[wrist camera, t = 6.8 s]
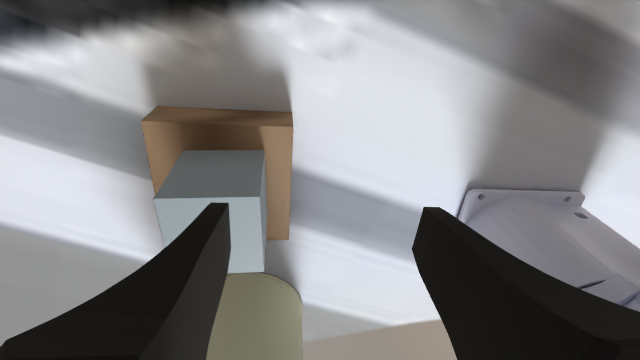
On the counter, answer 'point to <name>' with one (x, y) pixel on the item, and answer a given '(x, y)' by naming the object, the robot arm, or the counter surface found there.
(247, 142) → the slab
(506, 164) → the counter surface
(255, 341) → the can
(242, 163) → the block
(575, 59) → the counter surface
